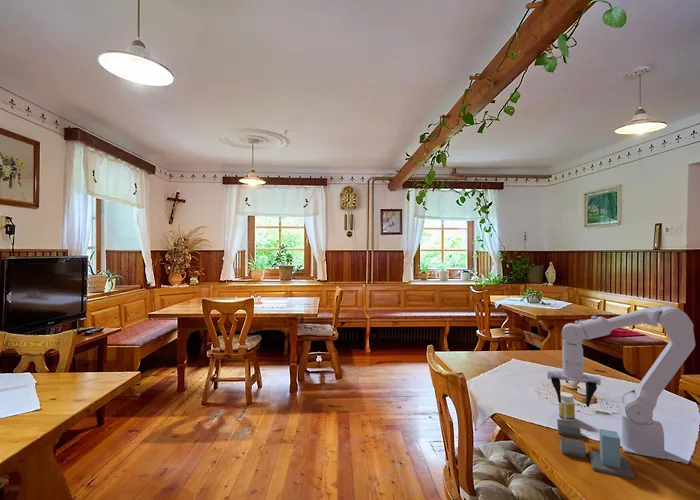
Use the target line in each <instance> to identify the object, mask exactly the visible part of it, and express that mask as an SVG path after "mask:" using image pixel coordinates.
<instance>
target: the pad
mask: <svg viewBox="0 0 700 500" xmlns="http://www.w3.org/2000/svg"><path fill="white" fill-rule="evenodd" d="M587 453H588V457H589V460H590V464H591V469H592V471H596V472H600V473H604V474H609V475H615V476H617V477H622V478H628V479H632V480H635V474H634V472H633V469H632V468H631V467H632V466H631V465H630V464H629V460H628V458H627V457H625V456H621V455H620V468H617V467H612V466H607V465H603V464H602V461H601V459H600V451H596V450H591V449H587Z"/></svg>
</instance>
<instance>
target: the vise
mask: <svg viewBox="0 0 700 500" xmlns="http://www.w3.org/2000/svg"><path fill="white" fill-rule="evenodd" d="M556 422H557V425H556V427H557V428H556V429H557V433H558V434H559V435H564V436H568V437H563V436H560V437H559V441H560V444H559V446H560V453H561V454H563V455H568V456H572V457H578V458H583V459H586V458H587V457H586V456H587V453H586V450H587V449H586V445H585V441H584V440H581V439H579V438H581V428H580V423H579V422H577V421H566V420H563V419H561V418H557V419H556ZM570 437H575V438H578V439H575V438H570Z"/></svg>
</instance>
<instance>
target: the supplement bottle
mask: <svg viewBox="0 0 700 500" xmlns="http://www.w3.org/2000/svg"><path fill="white" fill-rule="evenodd" d="M560 394H561V403H560V402H558V417H559V419H560V420H566V421H572V422H575V419H576V412H575V410H576V409H575V408H576V407H575V401H574V395H573V394H572V393H569V392H565V391H564V392H563V391H562V392H560Z"/></svg>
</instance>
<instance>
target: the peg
mask: <svg viewBox="0 0 700 500" xmlns="http://www.w3.org/2000/svg"><path fill="white" fill-rule="evenodd" d="M619 437H620V435H619V433H618V431H615V430H607V429H605V428H603V429H602V428H599V452H600V459H601V461H602V464H603V465H607V466H612V467H617V468H620V456H621V443H620V438H619Z"/></svg>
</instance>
